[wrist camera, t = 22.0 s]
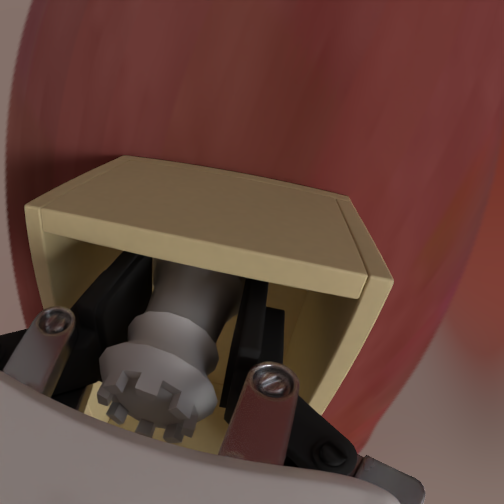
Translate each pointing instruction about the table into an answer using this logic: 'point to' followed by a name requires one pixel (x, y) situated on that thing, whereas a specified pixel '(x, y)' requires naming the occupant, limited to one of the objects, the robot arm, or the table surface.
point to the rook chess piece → (171, 351)
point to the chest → (220, 260)
